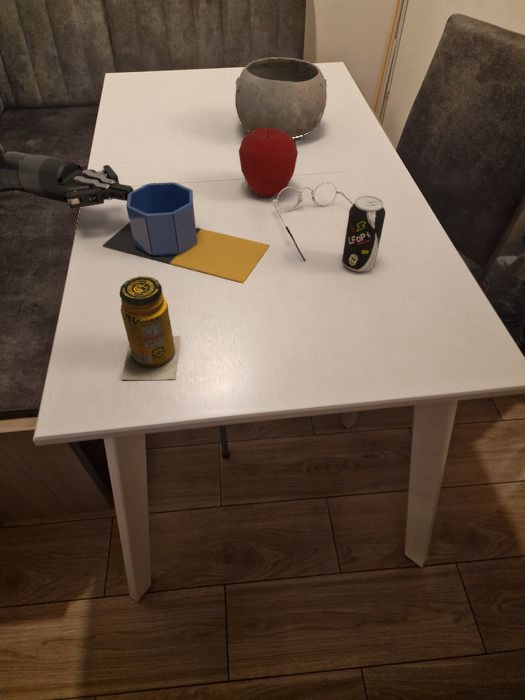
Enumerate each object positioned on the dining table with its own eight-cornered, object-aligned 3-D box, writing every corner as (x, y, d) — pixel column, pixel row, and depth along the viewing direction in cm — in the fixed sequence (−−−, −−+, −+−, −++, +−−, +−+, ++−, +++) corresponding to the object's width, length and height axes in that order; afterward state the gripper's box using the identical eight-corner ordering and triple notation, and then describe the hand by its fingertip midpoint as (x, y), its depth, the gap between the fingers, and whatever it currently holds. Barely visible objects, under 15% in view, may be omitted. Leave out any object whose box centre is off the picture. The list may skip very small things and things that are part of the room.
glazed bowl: (133, 259, 85) (124, 216, 79) (137, 225, 93) (129, 184, 87) (197, 255, 86) (193, 212, 80) (196, 222, 94) (192, 181, 88)
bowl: (273, 158, 114) (274, 90, 104) (217, 128, 127) (213, 64, 116) (341, 134, 125) (349, 69, 114) (284, 108, 137) (286, 48, 126)
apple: (306, 197, 102) (311, 132, 92) (258, 211, 97) (258, 145, 88) (275, 174, 109) (277, 112, 99) (230, 186, 104) (227, 123, 95)
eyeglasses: (340, 200, 101) (343, 178, 97) (380, 249, 88) (385, 225, 85) (266, 211, 97) (267, 188, 94) (297, 263, 85) (298, 239, 81)
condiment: (180, 336, 72) (170, 270, 63) (175, 379, 66) (163, 313, 57) (131, 337, 72) (114, 271, 63) (121, 381, 66) (101, 314, 57)
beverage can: (379, 272, 83) (393, 209, 75) (347, 276, 82) (358, 213, 74) (367, 253, 87) (379, 191, 79) (337, 257, 86) (346, 195, 78)
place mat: (102, 246, 88) (102, 245, 88) (138, 215, 96) (138, 213, 96) (243, 283, 81) (243, 281, 81) (269, 246, 89) (269, 244, 88)
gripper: (19, 174, 83) (104, 191, 78) (68, 144, 92) (147, 157, 87) (35, 213, 88) (115, 231, 84) (79, 181, 97) (154, 196, 92)
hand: (131, 194), depth 85 cm, fingers closed
